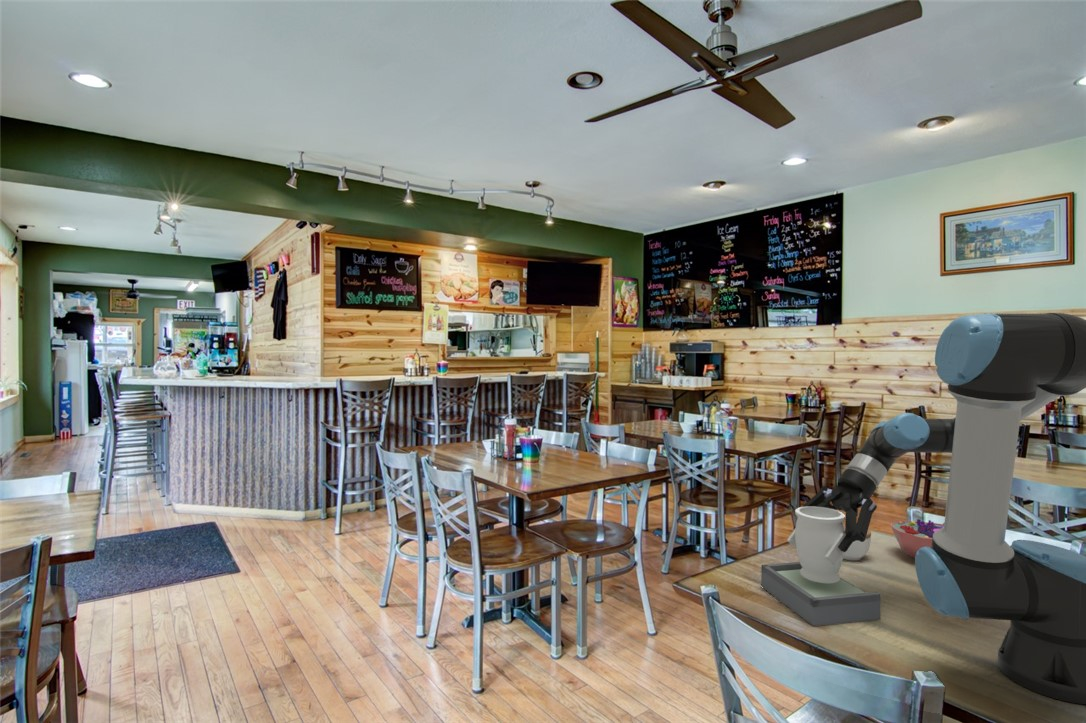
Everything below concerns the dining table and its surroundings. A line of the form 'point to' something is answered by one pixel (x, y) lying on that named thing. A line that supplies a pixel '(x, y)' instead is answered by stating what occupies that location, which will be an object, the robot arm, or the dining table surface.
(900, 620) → the dining table surface
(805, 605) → the tray
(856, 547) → the lidded jar
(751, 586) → the dining table surface
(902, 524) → the cell model
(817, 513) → the jar
